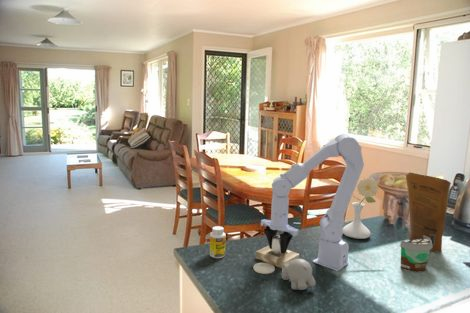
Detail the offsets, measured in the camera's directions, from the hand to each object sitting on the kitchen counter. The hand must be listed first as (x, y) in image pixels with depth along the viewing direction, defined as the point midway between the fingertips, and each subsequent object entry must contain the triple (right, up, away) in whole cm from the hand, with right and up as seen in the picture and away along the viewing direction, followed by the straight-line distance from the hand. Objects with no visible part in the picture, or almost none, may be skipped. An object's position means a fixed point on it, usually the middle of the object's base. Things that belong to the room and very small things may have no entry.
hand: (277, 250), depth 127 cm
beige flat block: (0, -3, +1) cm, 3 cm away
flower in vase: (+36, -1, +24) cm, 43 cm away
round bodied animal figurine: (+3, -7, -16) cm, 18 cm away
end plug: (0, -3, +1) cm, 3 cm away
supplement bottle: (-21, -3, +2) cm, 21 cm away
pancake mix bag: (+59, -2, +17) cm, 61 cm away
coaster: (-5, -4, -7) cm, 10 cm away
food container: (+47, -6, -4) cm, 47 cm away
